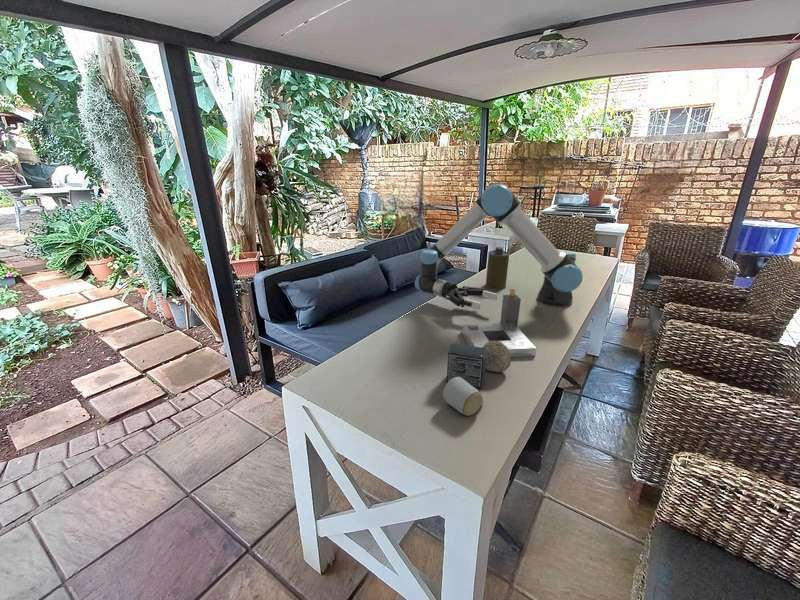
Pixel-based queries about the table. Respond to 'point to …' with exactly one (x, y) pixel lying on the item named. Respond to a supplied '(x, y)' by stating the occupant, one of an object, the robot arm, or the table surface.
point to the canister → (497, 269)
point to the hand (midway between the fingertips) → (488, 301)
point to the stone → (497, 356)
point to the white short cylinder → (462, 396)
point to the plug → (510, 308)
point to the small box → (467, 364)
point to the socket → (499, 337)
